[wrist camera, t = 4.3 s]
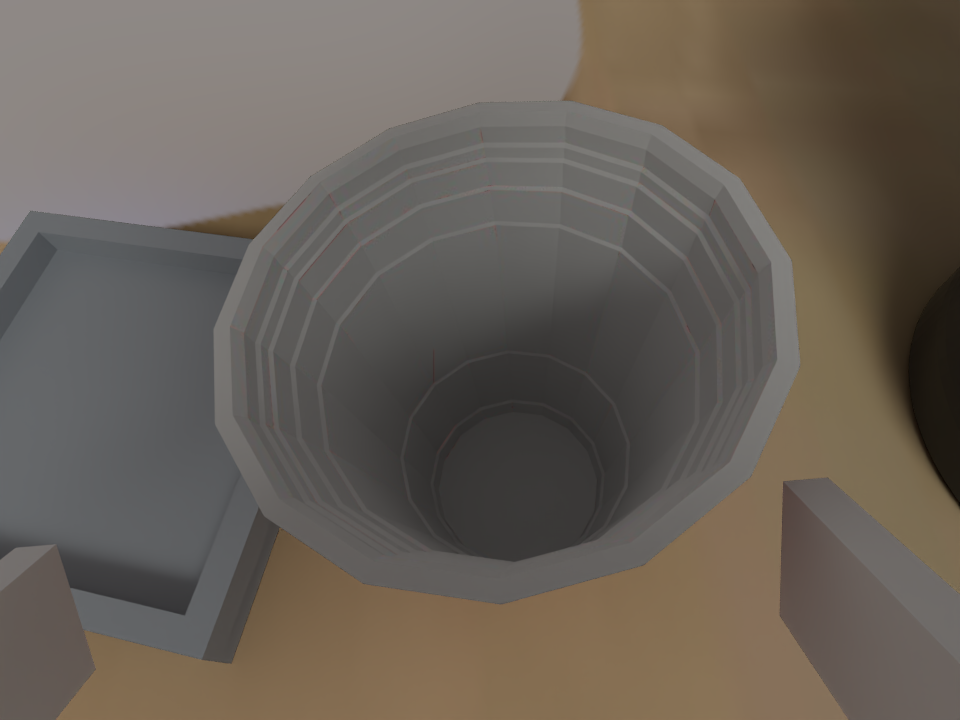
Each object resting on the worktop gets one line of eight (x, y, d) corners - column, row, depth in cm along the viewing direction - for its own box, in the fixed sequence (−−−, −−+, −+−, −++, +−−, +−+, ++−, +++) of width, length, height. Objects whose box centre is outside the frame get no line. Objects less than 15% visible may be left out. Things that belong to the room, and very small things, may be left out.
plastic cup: (427, 315, 26) (349, 44, 15) (703, 392, 23) (839, 132, 13) (300, 584, 21) (64, 463, 11) (626, 716, 19) (738, 729, 8)
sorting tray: (366, 282, 27) (354, 252, 25) (230, 663, 20) (202, 659, 18) (61, 240, 29) (30, 210, 27) (-148, 568, 23) (-205, 556, 21)
